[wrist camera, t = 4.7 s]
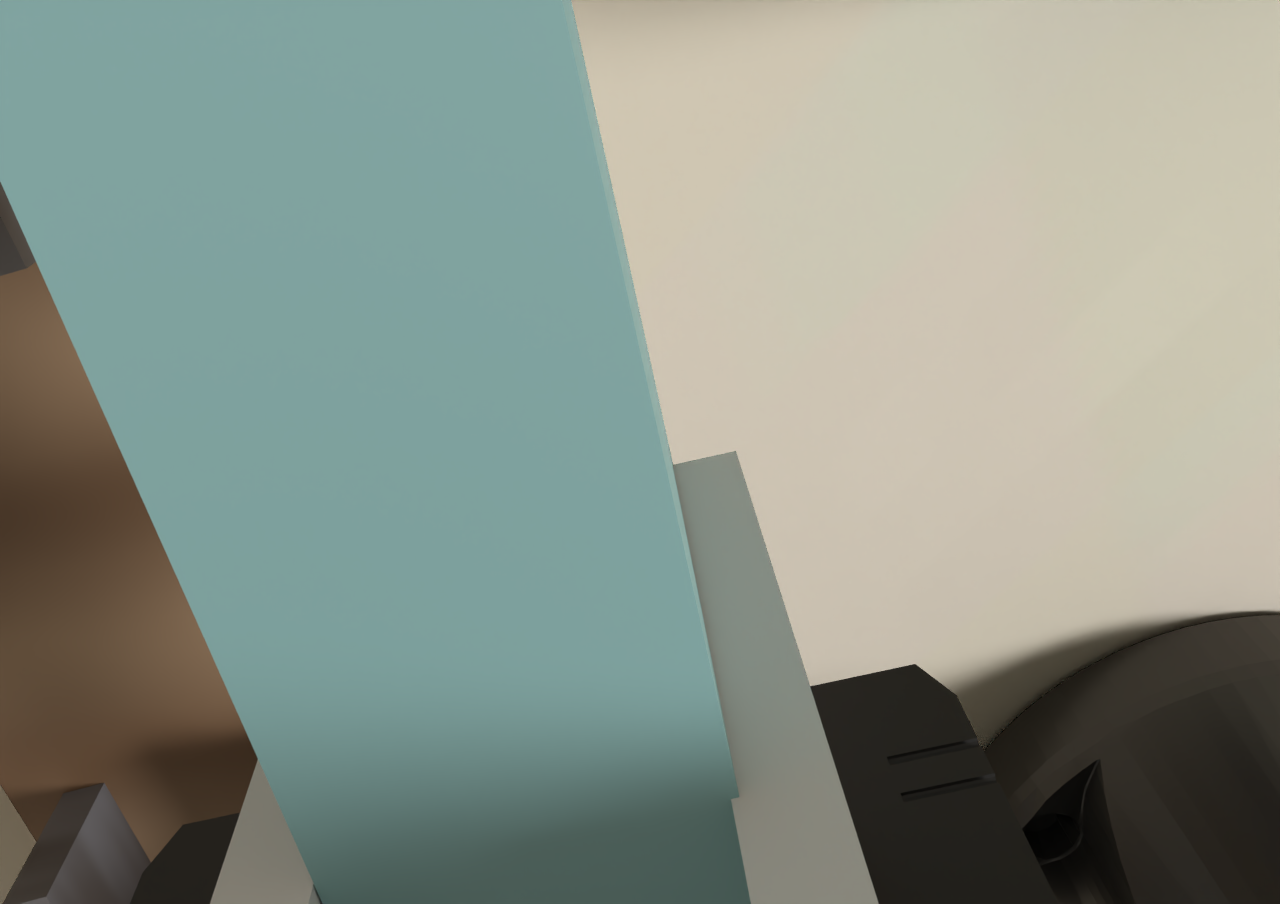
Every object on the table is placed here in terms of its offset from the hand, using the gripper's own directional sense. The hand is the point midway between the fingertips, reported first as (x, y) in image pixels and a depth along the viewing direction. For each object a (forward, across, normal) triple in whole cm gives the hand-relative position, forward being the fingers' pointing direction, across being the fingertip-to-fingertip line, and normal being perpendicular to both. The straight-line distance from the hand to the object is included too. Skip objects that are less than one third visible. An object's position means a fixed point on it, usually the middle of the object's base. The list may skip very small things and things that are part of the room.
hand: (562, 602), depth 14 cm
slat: (+1, 0, 0) cm, 1 cm away
